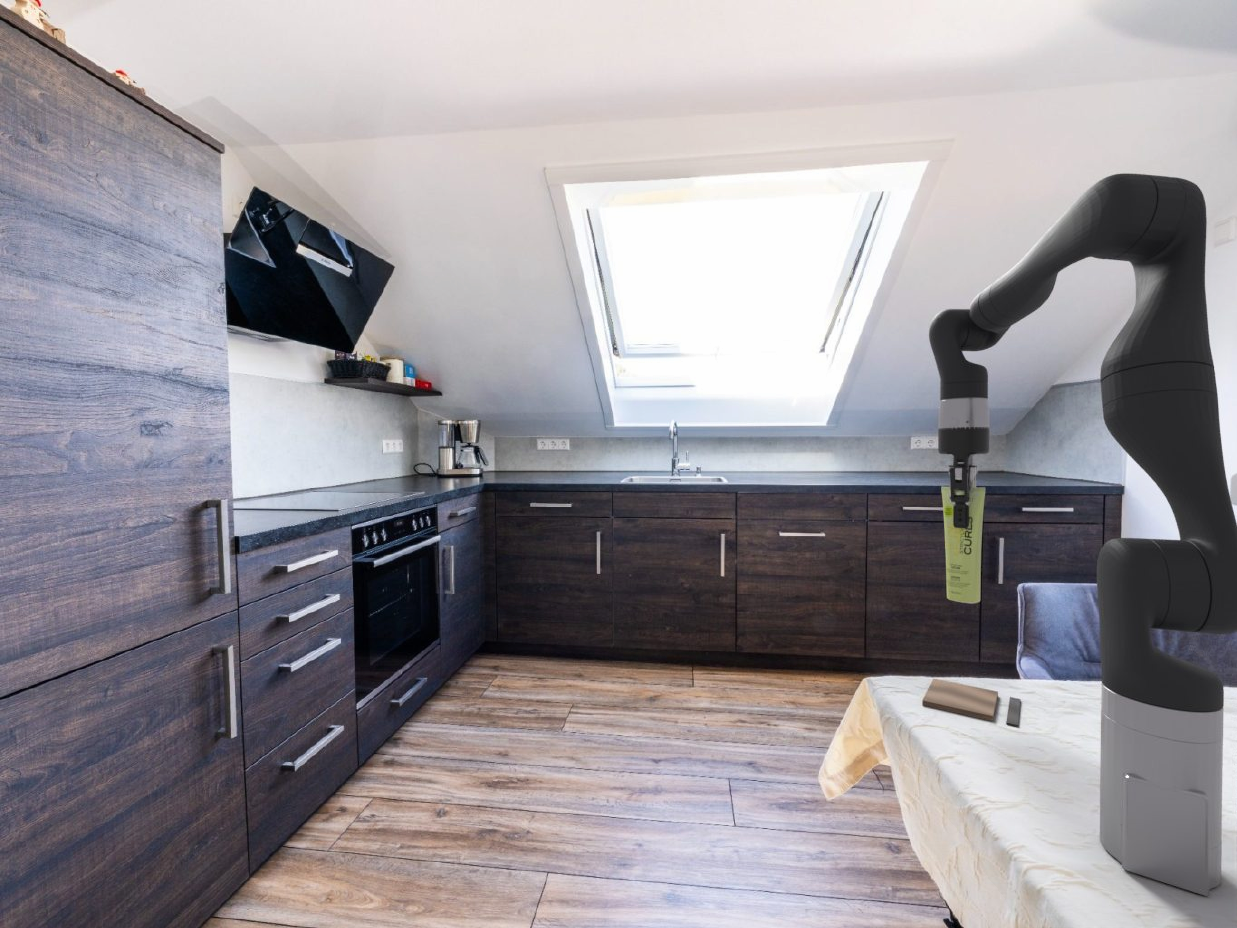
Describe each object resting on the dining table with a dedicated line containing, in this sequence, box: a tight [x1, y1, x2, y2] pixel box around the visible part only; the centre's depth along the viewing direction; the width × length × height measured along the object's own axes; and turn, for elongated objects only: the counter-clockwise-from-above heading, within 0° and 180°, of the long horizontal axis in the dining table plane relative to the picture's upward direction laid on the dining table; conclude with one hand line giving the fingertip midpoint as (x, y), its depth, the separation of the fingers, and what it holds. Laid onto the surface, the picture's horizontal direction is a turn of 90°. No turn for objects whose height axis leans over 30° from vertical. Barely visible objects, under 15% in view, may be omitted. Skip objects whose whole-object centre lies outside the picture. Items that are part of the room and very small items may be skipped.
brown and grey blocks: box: [922, 678, 1021, 728], centre depth 98 cm, size 12×13×1 cm
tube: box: [940, 486, 986, 604], centre depth 99 cm, size 6×5×20 cm
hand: (962, 526), depth 99 cm, fingers closed on tube, 4 cm apart
